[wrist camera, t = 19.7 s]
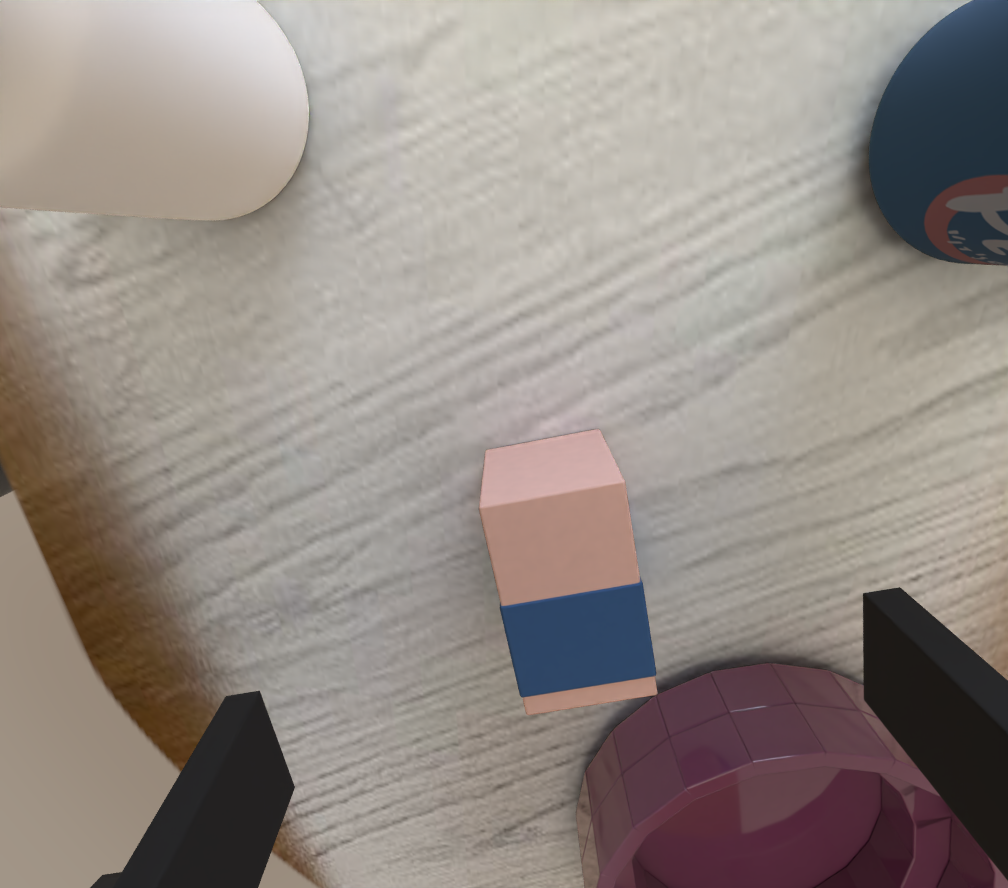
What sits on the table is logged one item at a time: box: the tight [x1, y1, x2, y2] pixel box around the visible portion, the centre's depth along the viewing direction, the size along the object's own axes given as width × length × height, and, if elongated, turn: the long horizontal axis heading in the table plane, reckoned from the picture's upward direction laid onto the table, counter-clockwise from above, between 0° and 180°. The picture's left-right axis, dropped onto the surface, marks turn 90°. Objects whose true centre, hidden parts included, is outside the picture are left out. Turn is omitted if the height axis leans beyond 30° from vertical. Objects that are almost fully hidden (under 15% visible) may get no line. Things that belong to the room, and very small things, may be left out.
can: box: [0, 0, 309, 221], centre depth 13 cm, size 6×6×12 cm
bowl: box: [576, 663, 1008, 888], centre depth 24 cm, size 14×14×5 cm
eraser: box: [479, 429, 657, 715], centre depth 20 cm, size 4×7×5 cm, turn 11°
